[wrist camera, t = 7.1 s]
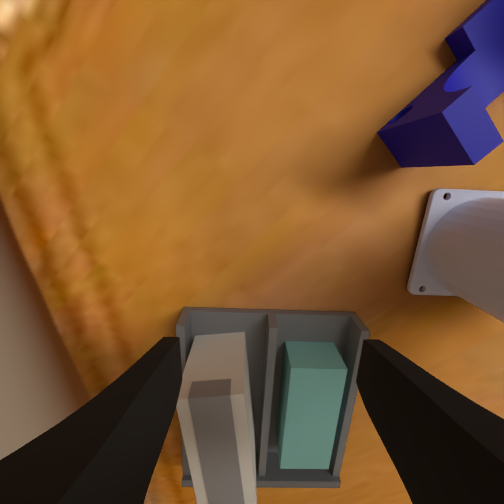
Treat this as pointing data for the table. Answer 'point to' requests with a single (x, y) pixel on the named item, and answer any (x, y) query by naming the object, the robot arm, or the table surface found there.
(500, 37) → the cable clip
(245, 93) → the table surface
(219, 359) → the grey striped bar
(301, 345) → the teal rectangular prism
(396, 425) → the robot arm
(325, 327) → the grey divided tray
